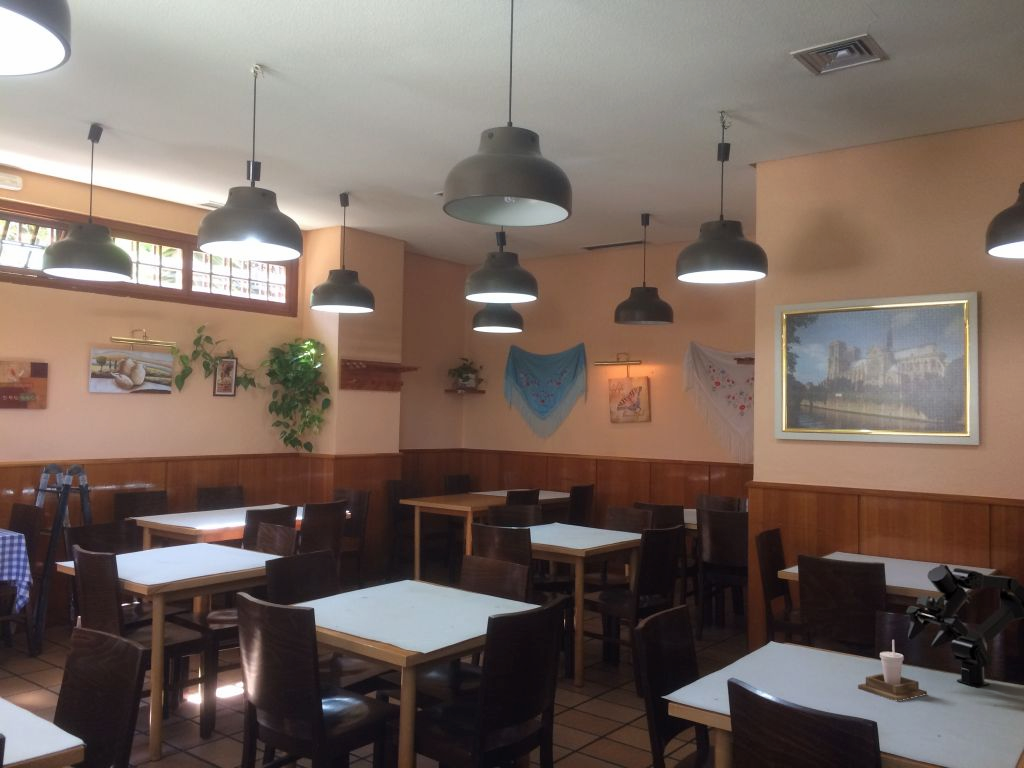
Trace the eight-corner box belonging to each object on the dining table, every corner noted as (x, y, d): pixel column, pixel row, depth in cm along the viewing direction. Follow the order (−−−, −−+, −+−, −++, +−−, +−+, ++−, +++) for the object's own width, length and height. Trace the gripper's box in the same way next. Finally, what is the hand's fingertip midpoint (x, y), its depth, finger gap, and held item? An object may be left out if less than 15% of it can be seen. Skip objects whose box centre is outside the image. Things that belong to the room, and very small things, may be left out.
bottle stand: (887, 682, 239) (887, 670, 239) (926, 694, 227) (926, 682, 228) (858, 688, 233) (857, 676, 233) (897, 701, 221) (896, 688, 222)
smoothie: (899, 693, 226) (898, 643, 227) (876, 687, 230) (875, 639, 231) (907, 688, 230) (906, 639, 231) (885, 683, 235) (884, 635, 236)
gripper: (910, 579, 245) (881, 617, 241) (958, 590, 227) (928, 632, 223) (931, 603, 246) (903, 641, 242) (981, 617, 228) (951, 658, 224)
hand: (920, 642), depth 233 cm, fingers open, 9 cm apart
